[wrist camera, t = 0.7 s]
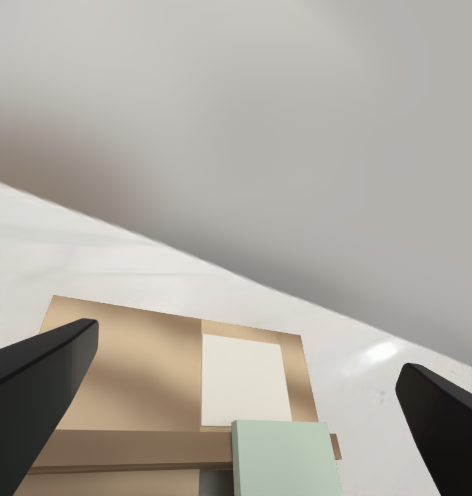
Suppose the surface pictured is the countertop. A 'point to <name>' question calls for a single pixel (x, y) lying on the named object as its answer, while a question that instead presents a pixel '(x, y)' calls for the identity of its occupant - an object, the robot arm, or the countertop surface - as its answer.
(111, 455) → the puzzle board
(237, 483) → the sliding cover
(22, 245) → the countertop surface
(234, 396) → the cream pad
